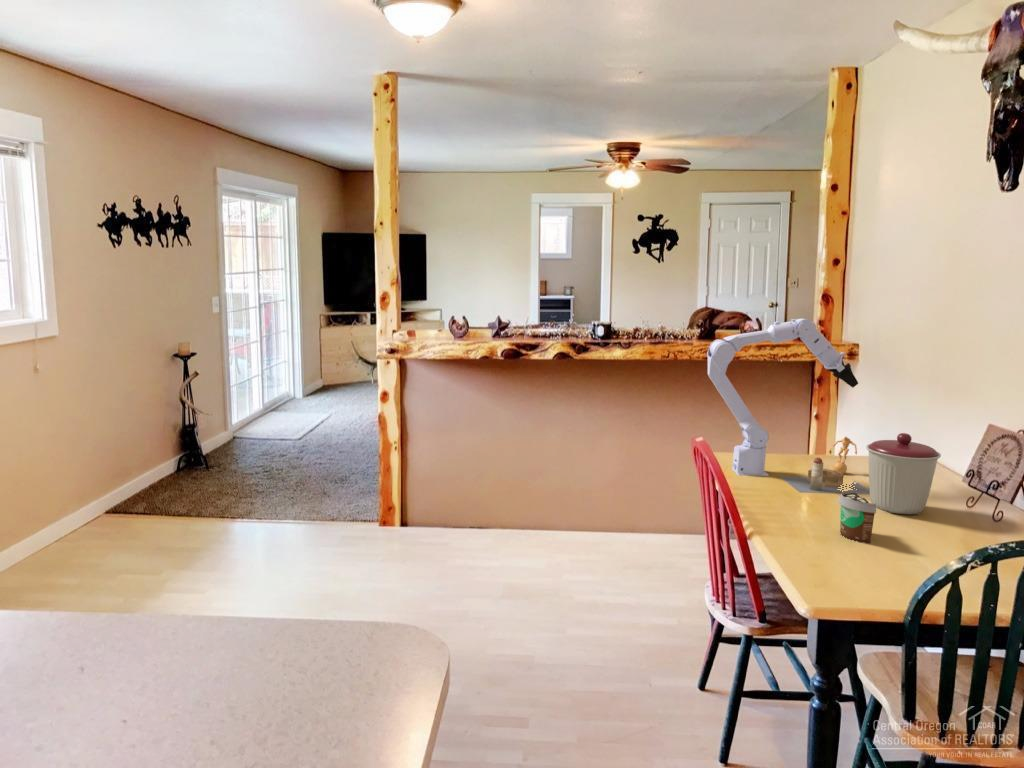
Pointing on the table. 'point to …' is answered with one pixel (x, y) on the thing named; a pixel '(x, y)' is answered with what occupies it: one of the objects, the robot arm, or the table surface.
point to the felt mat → (804, 486)
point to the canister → (901, 474)
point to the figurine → (841, 465)
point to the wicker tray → (829, 478)
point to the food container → (856, 516)
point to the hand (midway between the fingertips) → (852, 382)
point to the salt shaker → (816, 474)
